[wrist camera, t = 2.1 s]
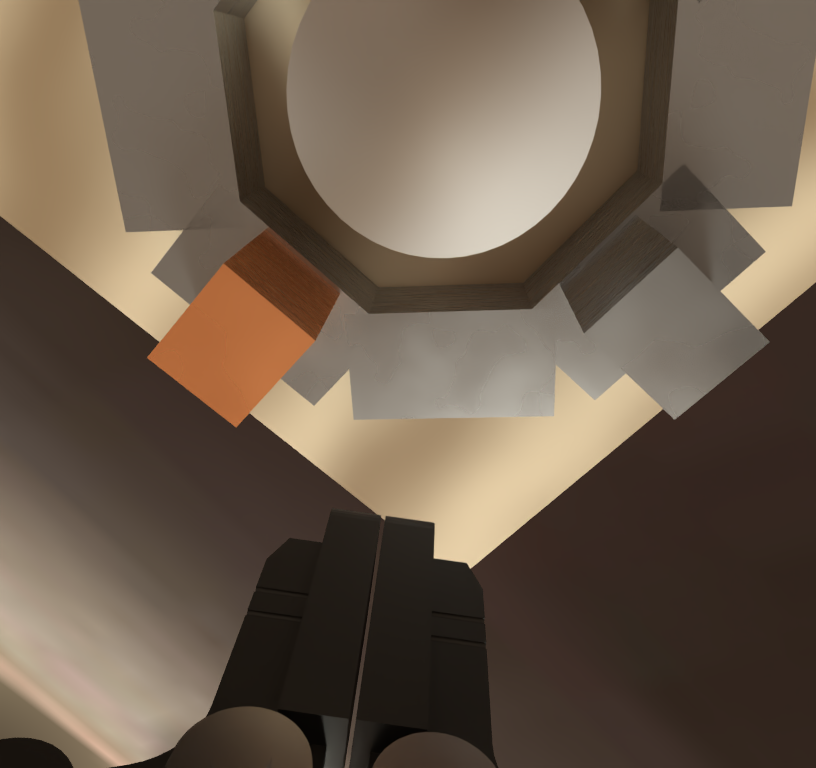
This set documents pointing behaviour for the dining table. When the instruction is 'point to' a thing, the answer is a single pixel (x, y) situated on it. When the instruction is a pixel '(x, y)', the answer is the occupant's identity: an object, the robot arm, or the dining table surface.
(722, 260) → the ring nut
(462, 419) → the base plate
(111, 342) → the dining table surface
